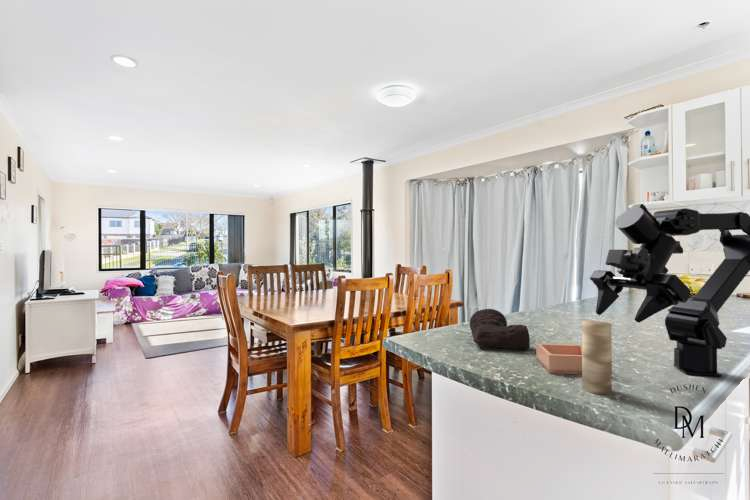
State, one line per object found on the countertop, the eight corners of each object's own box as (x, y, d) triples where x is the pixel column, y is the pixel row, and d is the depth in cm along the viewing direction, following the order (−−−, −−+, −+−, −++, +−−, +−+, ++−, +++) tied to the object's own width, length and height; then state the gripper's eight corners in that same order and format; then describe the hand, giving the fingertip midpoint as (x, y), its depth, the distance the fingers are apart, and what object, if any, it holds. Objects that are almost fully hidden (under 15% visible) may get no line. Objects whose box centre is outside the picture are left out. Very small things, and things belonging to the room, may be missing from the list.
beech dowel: (607, 386, 77) (607, 321, 77) (615, 395, 72) (614, 326, 72) (579, 384, 78) (579, 320, 78) (585, 393, 73) (585, 324, 73)
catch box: (581, 361, 94) (581, 344, 94) (600, 375, 84) (600, 356, 84) (536, 359, 96) (536, 343, 96) (549, 373, 85) (549, 355, 85)
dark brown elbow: (530, 325, 102) (519, 307, 116) (471, 327, 105) (468, 309, 119) (531, 359, 103) (520, 337, 118) (474, 360, 106) (470, 338, 121)
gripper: (591, 236, 90) (557, 289, 87) (673, 232, 72) (633, 299, 69) (621, 265, 92) (589, 318, 89) (707, 268, 74) (670, 335, 71)
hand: (616, 317), depth 80 cm, fingers open, 9 cm apart
